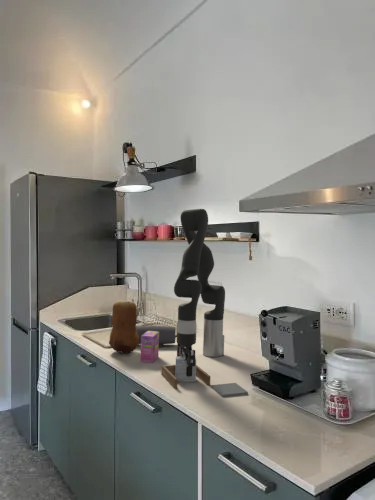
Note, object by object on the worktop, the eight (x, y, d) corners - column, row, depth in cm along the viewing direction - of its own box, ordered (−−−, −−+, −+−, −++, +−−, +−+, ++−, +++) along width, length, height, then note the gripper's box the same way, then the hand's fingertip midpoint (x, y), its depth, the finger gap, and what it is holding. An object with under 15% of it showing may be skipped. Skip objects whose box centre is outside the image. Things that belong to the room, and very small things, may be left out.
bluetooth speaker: (130, 347, 206) (130, 327, 206) (130, 343, 216) (131, 324, 216) (175, 347, 209) (175, 328, 208) (174, 343, 218) (174, 324, 218)
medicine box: (195, 378, 162) (195, 356, 162) (195, 382, 158) (196, 359, 158) (175, 378, 162) (175, 356, 162) (175, 382, 158) (175, 359, 157)
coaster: (235, 384, 156) (235, 382, 156) (248, 394, 147) (248, 392, 147) (211, 387, 153) (211, 385, 153) (222, 397, 143) (222, 394, 143)
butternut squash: (134, 348, 206) (136, 298, 205) (141, 355, 193) (143, 301, 193) (106, 349, 201) (108, 298, 200) (111, 357, 188) (113, 302, 188)
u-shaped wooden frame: (193, 371, 171) (194, 363, 171) (210, 385, 155) (210, 376, 155) (161, 374, 166) (161, 365, 166) (174, 388, 150) (174, 379, 150)
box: (152, 363, 181) (153, 336, 181) (140, 361, 182) (140, 335, 182) (158, 356, 191) (159, 331, 191) (147, 355, 193) (147, 330, 192)
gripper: (202, 334, 154) (201, 377, 154) (189, 327, 168) (188, 366, 168) (183, 335, 152) (182, 379, 152) (171, 327, 165) (170, 368, 165)
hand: (185, 372), depth 160 cm, fingers open, 8 cm apart
